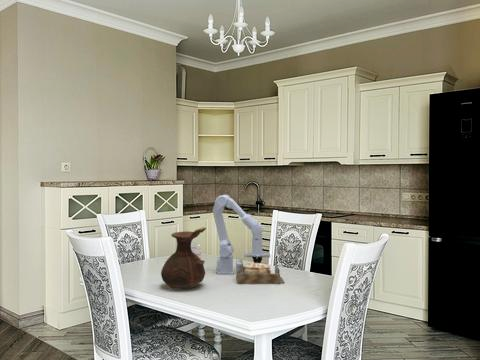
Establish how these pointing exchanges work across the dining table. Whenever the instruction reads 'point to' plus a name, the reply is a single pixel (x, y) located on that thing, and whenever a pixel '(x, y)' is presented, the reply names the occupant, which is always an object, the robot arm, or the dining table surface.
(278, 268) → the bookend
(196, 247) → the ink box
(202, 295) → the dining table surface
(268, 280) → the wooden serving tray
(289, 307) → the dining table surface
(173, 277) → the jug
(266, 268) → the trinket box
